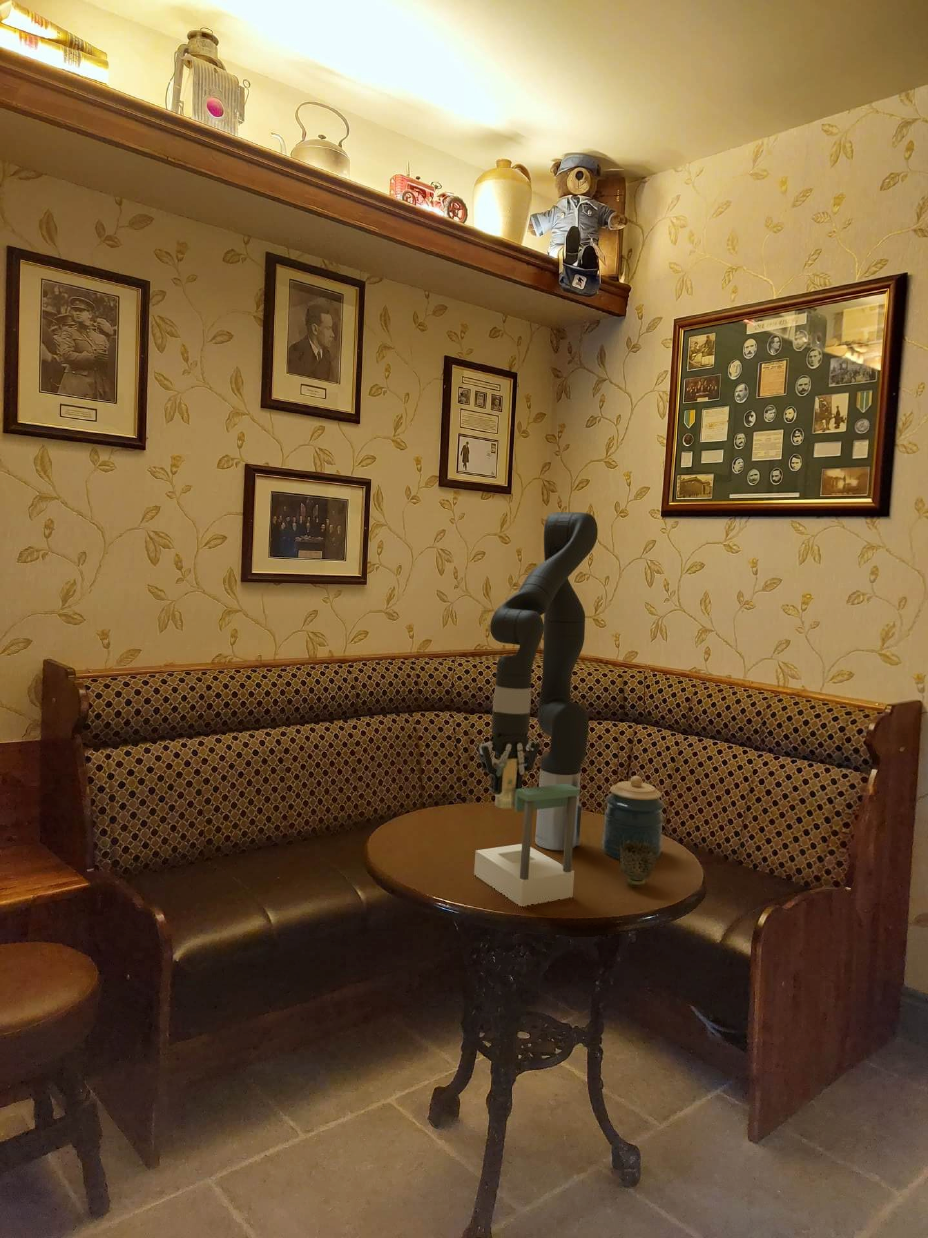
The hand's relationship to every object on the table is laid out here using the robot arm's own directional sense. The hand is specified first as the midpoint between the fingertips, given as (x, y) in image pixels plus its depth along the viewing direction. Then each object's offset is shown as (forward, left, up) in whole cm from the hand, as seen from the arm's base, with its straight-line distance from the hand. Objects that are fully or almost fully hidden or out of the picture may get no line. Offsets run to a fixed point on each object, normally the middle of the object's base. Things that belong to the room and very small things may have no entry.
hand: (505, 792), depth 170 cm
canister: (-35, -1, -18) cm, 39 cm away
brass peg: (0, 0, -3) cm, 3 cm away
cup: (-23, +14, -18) cm, 32 cm away
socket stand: (-1, +5, -17) cm, 18 cm away
